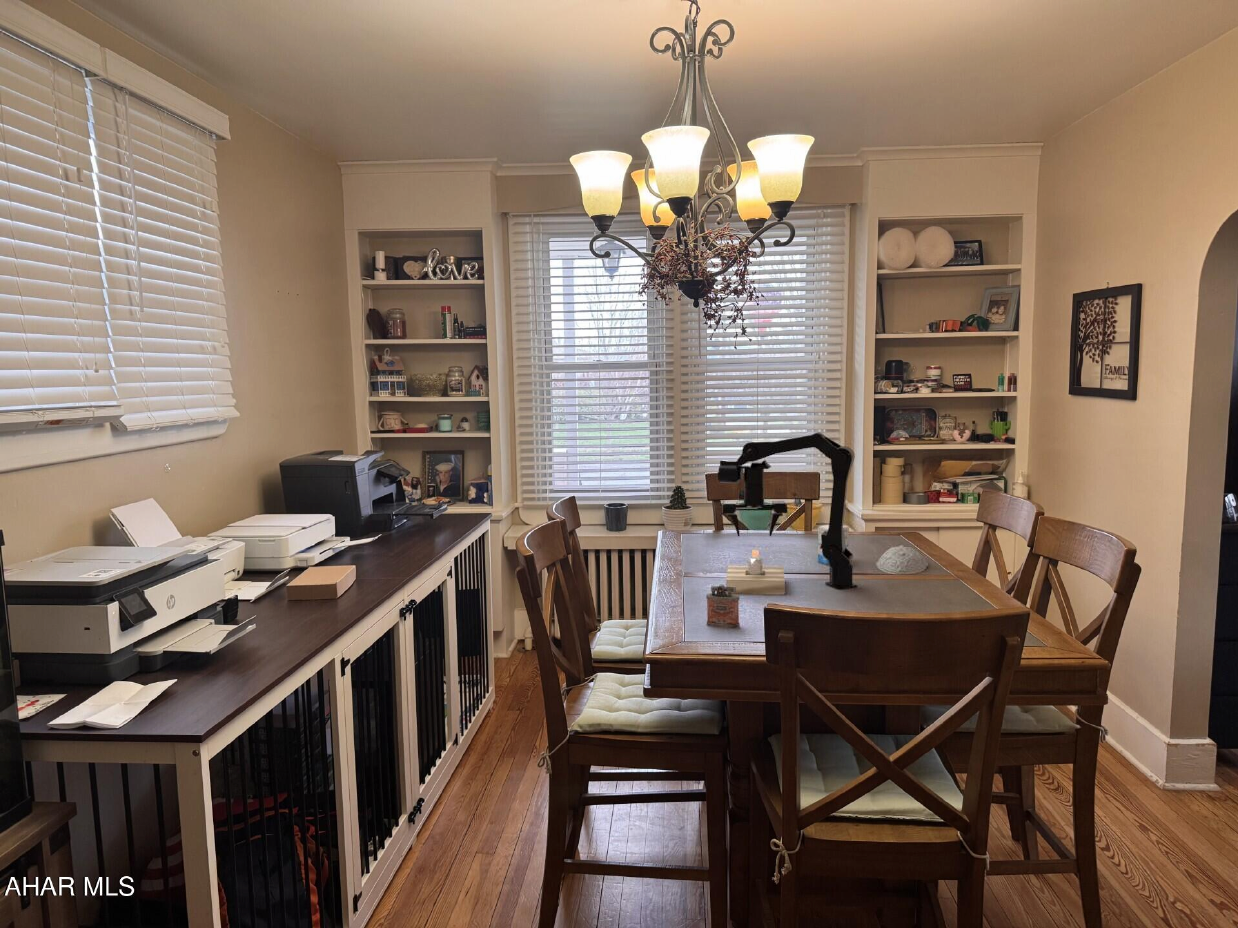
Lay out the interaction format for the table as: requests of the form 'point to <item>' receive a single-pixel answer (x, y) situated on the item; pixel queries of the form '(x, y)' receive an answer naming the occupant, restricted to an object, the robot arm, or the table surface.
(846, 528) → the ink box
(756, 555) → the pin
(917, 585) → the table surface
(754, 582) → the dock
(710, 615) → the lighter
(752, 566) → the cylinder
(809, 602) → the table surface
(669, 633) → the table surface
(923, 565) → the grey textured dome
